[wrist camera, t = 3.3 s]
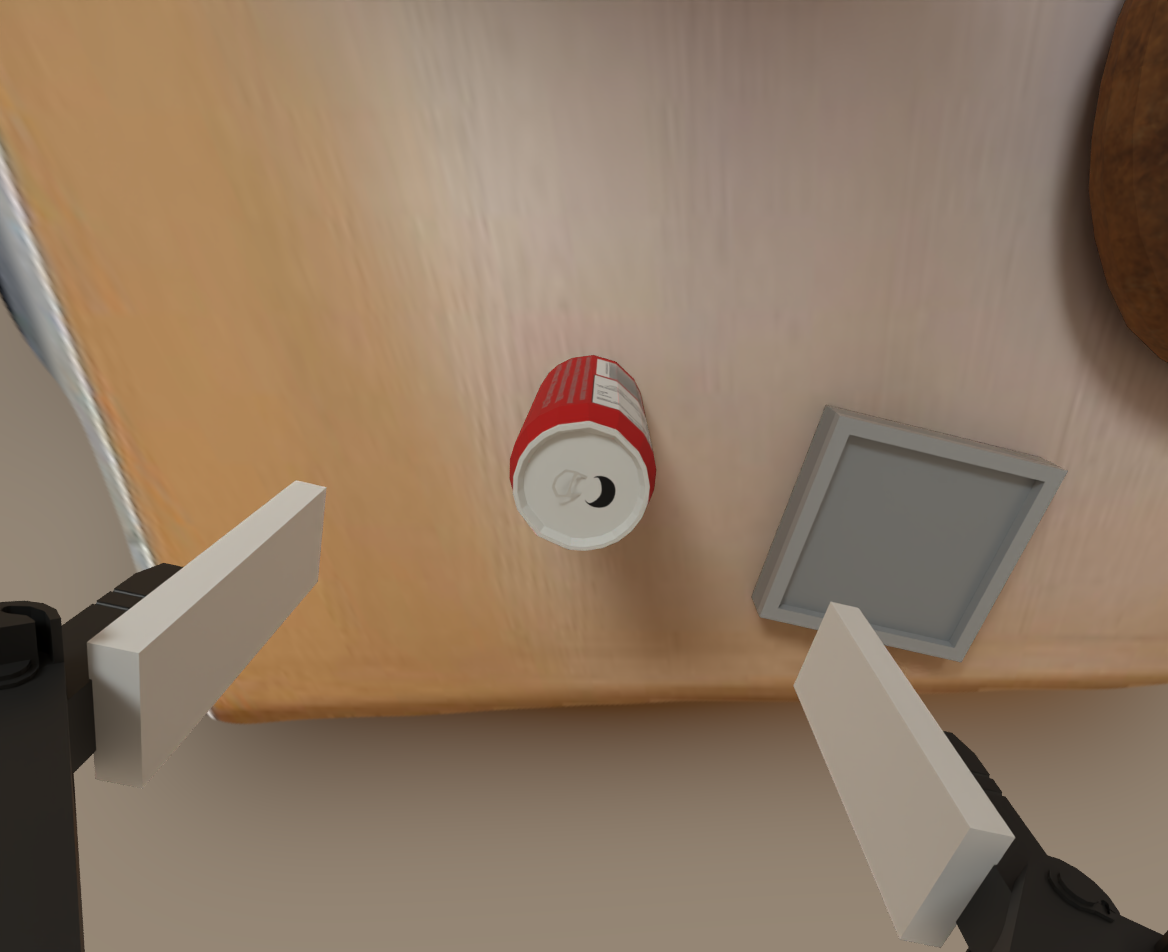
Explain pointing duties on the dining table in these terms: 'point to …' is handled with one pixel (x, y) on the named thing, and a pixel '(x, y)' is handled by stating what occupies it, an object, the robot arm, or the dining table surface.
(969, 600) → the tray
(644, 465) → the soda can
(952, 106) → the dining table surface
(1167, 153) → the bread
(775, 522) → the dining table surface
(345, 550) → the dining table surface
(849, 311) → the dining table surface
